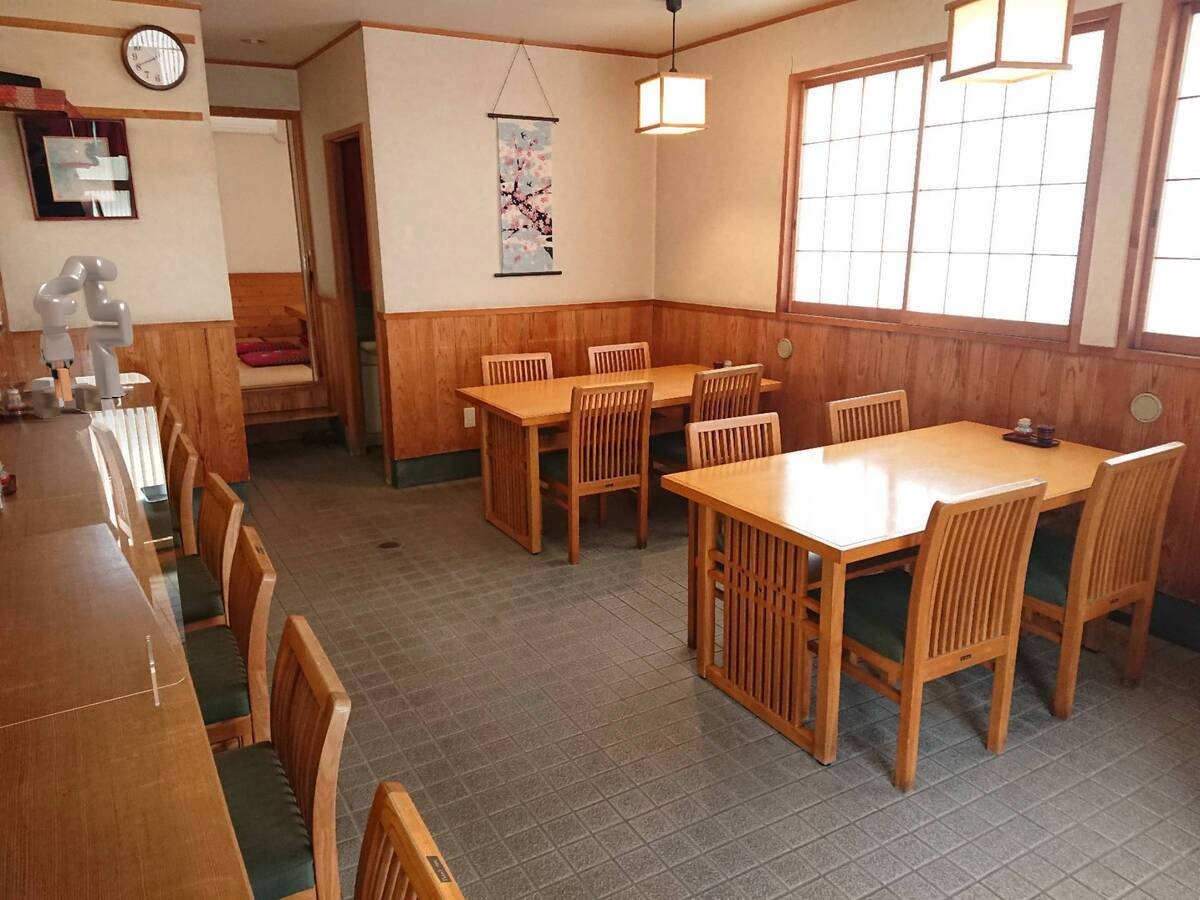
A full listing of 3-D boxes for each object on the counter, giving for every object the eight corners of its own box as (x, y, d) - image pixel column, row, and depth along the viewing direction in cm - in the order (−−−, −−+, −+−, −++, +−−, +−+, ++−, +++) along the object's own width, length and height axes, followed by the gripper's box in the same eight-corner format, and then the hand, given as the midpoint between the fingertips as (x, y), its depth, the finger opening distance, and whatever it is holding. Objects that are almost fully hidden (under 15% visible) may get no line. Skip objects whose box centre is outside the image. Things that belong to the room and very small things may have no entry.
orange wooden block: (64, 396, 325) (60, 366, 322) (72, 400, 320) (68, 369, 317) (56, 397, 323) (51, 367, 320) (64, 401, 318) (59, 370, 315)
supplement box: (53, 411, 338) (49, 380, 335) (35, 410, 338) (31, 379, 335) (65, 407, 345) (61, 377, 342) (47, 406, 345) (43, 376, 342)
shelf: (92, 408, 345) (89, 384, 343) (102, 411, 339) (99, 387, 337) (34, 415, 330) (31, 390, 327) (43, 419, 323) (40, 393, 321)
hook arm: (86, 386, 338) (86, 382, 338) (88, 386, 337) (88, 383, 337) (42, 390, 326) (41, 387, 326) (43, 391, 325) (43, 387, 325)
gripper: (74, 327, 323) (81, 374, 328) (26, 331, 311) (33, 379, 316) (82, 330, 319) (88, 377, 323) (33, 333, 306) (40, 382, 311)
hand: (61, 378), depth 320 cm, fingers closed on orange wooden block, 3 cm apart
